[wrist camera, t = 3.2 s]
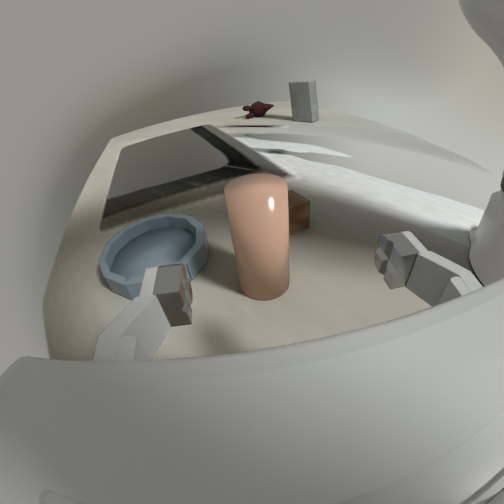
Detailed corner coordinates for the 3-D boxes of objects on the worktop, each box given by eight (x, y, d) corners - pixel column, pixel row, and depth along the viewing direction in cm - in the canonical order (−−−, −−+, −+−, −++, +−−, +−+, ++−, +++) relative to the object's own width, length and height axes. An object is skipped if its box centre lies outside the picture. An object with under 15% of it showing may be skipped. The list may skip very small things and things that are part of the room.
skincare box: (319, 120, 91) (317, 80, 81) (311, 123, 87) (309, 81, 77) (299, 118, 95) (297, 80, 85) (290, 121, 91) (288, 80, 81)
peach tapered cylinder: (283, 262, 31) (279, 170, 24) (294, 295, 27) (295, 195, 20) (237, 269, 31) (222, 178, 24) (243, 304, 26) (225, 205, 20)
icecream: (266, 99, 105) (237, 107, 100) (276, 96, 99) (246, 103, 94) (271, 113, 108) (242, 122, 103) (280, 111, 102) (251, 119, 97)
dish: (207, 221, 39) (204, 206, 38) (208, 290, 28) (203, 273, 27) (121, 237, 39) (116, 223, 37) (96, 304, 28) (86, 289, 26)
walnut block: (292, 214, 39) (291, 189, 36) (309, 227, 36) (309, 201, 33) (268, 223, 38) (266, 197, 35) (284, 237, 35) (283, 210, 32)
